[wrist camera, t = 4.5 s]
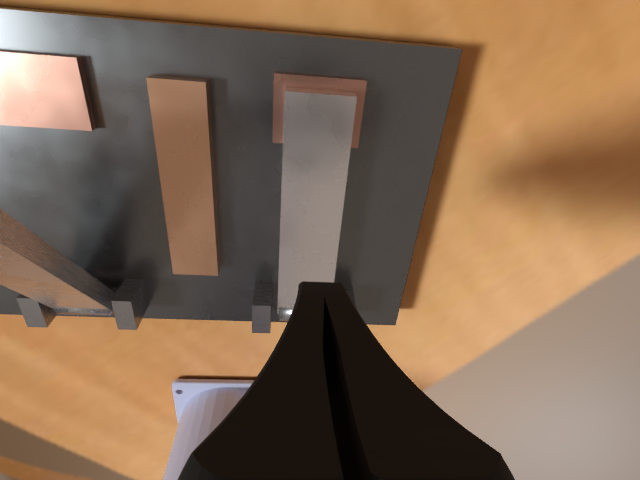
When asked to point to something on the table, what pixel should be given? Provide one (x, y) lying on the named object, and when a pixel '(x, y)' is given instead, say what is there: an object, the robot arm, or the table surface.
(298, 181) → the bar
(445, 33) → the table surface
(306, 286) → the robot arm
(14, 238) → the bar
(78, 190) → the plate
